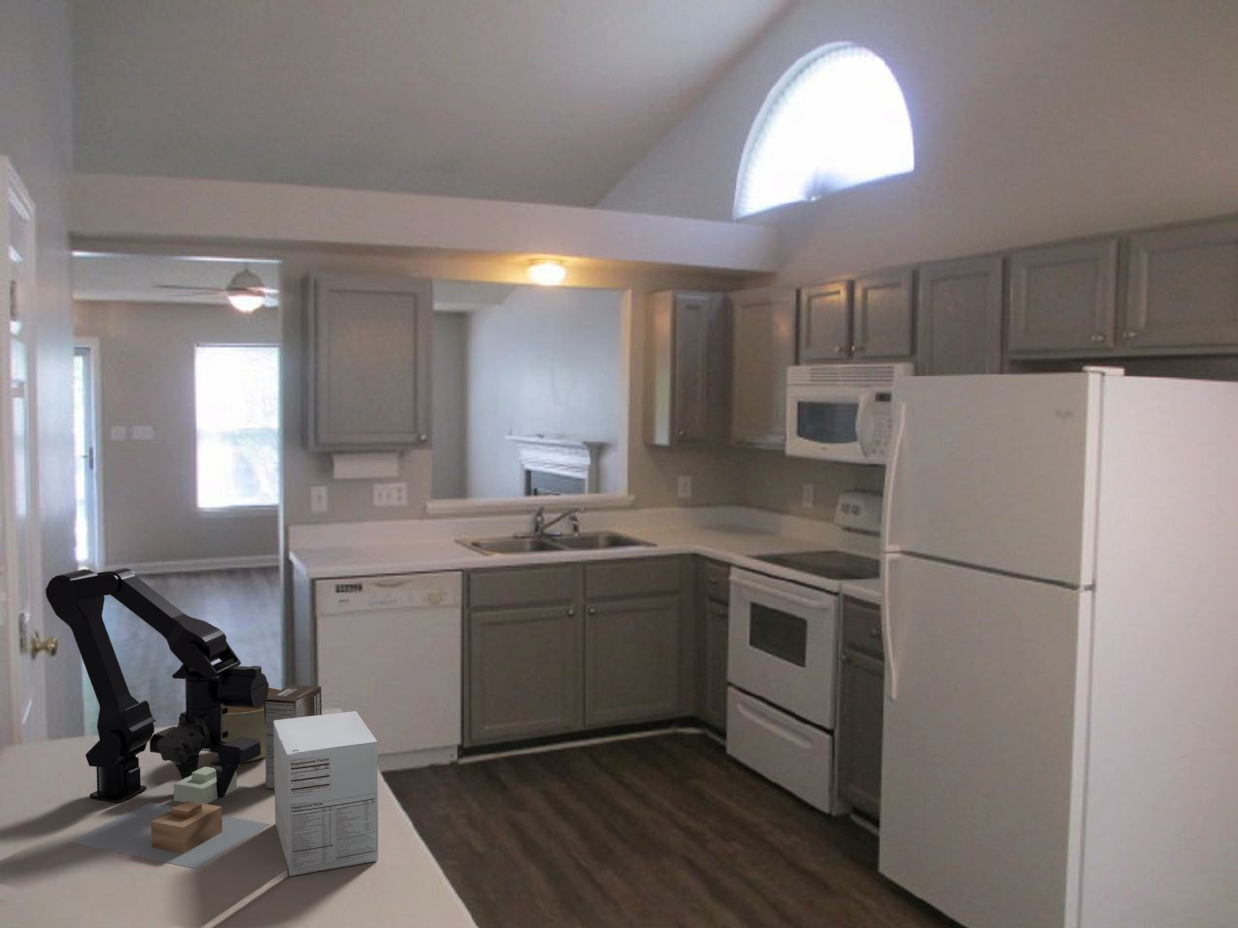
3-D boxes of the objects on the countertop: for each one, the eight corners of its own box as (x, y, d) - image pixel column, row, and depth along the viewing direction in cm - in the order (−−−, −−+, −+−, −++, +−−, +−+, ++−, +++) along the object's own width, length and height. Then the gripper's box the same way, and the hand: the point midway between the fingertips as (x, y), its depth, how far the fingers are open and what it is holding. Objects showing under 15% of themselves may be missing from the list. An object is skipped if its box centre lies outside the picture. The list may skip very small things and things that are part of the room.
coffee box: (291, 769, 187) (290, 683, 186) (323, 772, 186) (322, 685, 185) (264, 788, 178) (263, 697, 177) (298, 791, 177) (296, 700, 176)
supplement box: (381, 861, 151) (380, 741, 150) (287, 878, 145) (285, 754, 144) (358, 817, 167) (357, 708, 165) (273, 831, 161) (271, 718, 160)
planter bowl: (178, 763, 189) (177, 706, 189) (239, 736, 204) (238, 682, 204) (249, 775, 184) (248, 716, 183) (306, 746, 199) (305, 691, 198)
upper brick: (203, 812, 168) (202, 781, 167) (174, 807, 170) (173, 776, 169) (236, 794, 175) (236, 765, 175) (208, 789, 177) (208, 760, 177)
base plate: (68, 849, 154) (68, 841, 154) (150, 809, 169) (150, 801, 169) (196, 876, 146) (196, 868, 145) (270, 831, 161) (270, 824, 160)
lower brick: (183, 853, 150) (182, 819, 150) (151, 847, 152) (150, 813, 152) (222, 831, 158) (221, 799, 157) (191, 825, 160) (190, 793, 159)
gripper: (122, 711, 167) (124, 804, 168) (214, 725, 160) (216, 822, 162) (173, 693, 177) (175, 780, 178) (262, 705, 171) (263, 796, 172)
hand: (205, 794), depth 172 cm, fingers closed on upper brick, 6 cm apart
